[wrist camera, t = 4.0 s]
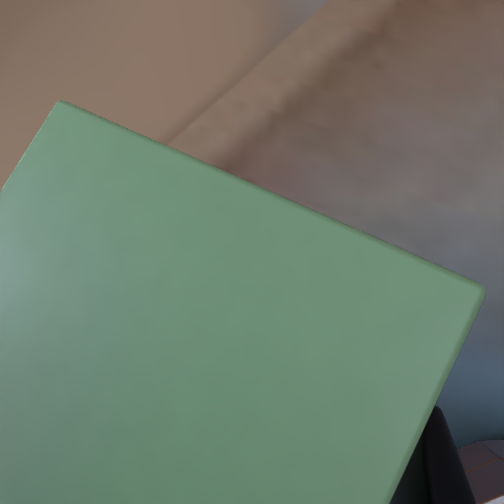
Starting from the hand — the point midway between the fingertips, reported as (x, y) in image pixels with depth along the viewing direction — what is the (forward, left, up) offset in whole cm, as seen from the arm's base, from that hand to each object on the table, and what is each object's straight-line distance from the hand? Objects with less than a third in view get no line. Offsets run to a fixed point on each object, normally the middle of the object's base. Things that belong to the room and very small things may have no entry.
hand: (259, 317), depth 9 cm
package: (-1, 0, -7) cm, 7 cm away
